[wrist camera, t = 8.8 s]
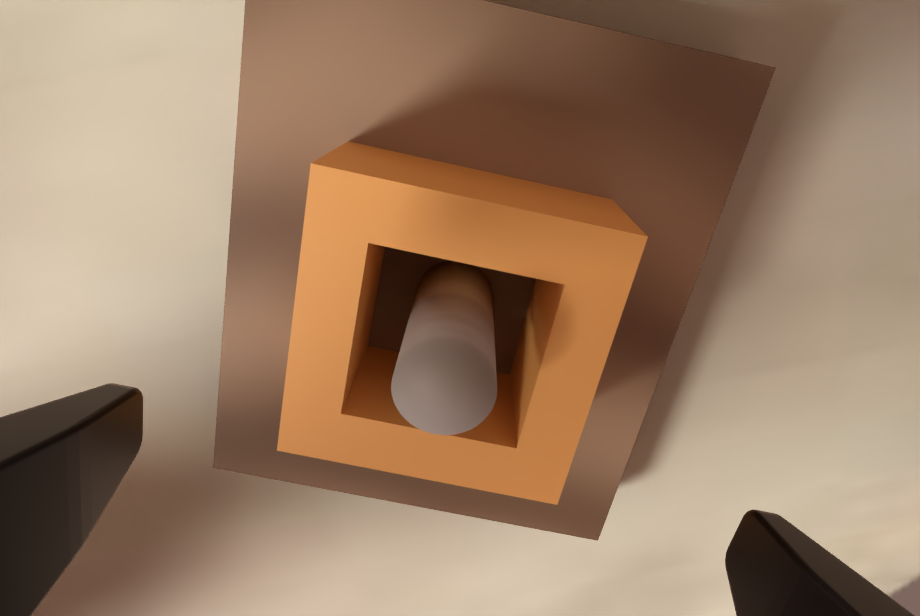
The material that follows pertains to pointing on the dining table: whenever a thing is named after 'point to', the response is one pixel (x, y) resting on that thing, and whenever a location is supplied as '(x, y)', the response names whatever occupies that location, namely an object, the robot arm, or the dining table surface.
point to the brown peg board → (487, 149)
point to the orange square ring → (471, 242)
